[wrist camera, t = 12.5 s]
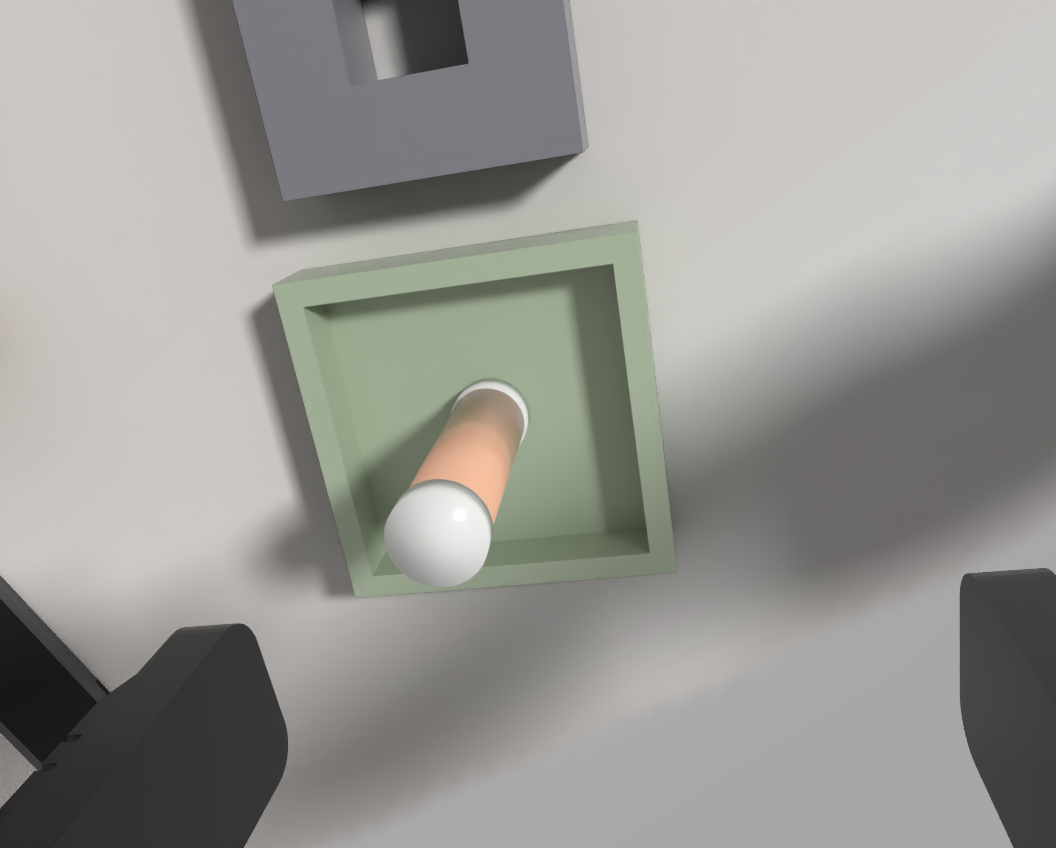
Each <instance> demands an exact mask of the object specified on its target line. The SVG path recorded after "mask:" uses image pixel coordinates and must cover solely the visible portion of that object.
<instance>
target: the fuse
mask: <svg viewBox="0 0 1056 848" xmlns="http://www.w3.org/2000/svg"><path fill="white" fill-rule="evenodd" d="M529 419H530V414H529V407H528V404H527V402H526V400H525V398H524V396H523V395H522V394H521V392H520V391H519V390H518V389H517V388H515V387H514V386H513V385H511V384H510V383H508V382H505V381H503V380H499V379H492V378H488V379H481V380H478V381H475V382H473V383H471V384H469V385H468V386H467V387H466V388H464V390H463V391H462V392H461V393H460V395H459V396H458V398H457V400H456V402H455V403H454V405H453V407H452V410H451V414H450V417H449V419H448V420H447V422H446V424H445V426H444V427H443V429H442V431H441V433H440V434H439V436H438V438H437V440H436V441H435V443H434V445H433V447H432V448H431V450H430V452H429V454H428V455H427V457H426V459H425V461H424V462H423V464H422V466H421V468H420V469H419V471H418V473H417V475H416V476H415V478H414V480H413V481H412V483H411V485H410V487H409V488H408V489H407V490H406V491H405V492H404V493H403V494H402V495H401V497H400V498H399V500H398V501H397V503H396V505H395V506H394V508H393V510H392V512H391V513H390V515H389V517H388V519H387V521H386V525H385V529H384V542H385V547H386V550H387V553H388V555H389V557H390V559H391V560H392V562H393V563H394V564H395V566H396V567H397V568H398V569H399V570H400V571H401V572H402V573H403V574H405V575H406V576H407V577H409V578H411V579H412V580H414V581H416V582H419V583H421V584H424V585H428V586H433V587H450V586H455V585H458V584H461V583H463V582H465V581H467V580H469V579H470V578H472V577H473V576H474V575H475V574H476V573H477V572H478V571H479V570H480V569H481V567H482V566H483V564H484V562H485V560H486V557H487V553H488V550H489V547H490V544H491V541H492V537H493V524H494V521H495V518H496V515H497V512H498V509H499V506H500V503H501V500H502V497H503V494H504V491H505V488H506V484H507V481H508V478H509V475H510V472H511V469H512V466H513V463H514V460H515V457H516V454H517V451H518V448H519V446H520V444H521V443H522V441H523V439H524V437H525V434H526V431H527V428H528V425H529Z"/></svg>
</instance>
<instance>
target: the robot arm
mask: <svg viewBox="0 0 1056 848" xmlns="http://www.w3.org/2000/svg"><path fill="white" fill-rule="evenodd" d="M960 705H961V713H962V720H963V725H964V730H965V735H966V738H967V742H968V746H969V749H970V752H971V755H972V757H973V760H974V762H975V765H976V767H977V769H978V771H979V774H980V776H981V778H982V780H983V782H984V784H985V787H986V789H987V791H988V793H989V795H990V797H991V800H992V802H993V804H994V806H995V808H996V810H997V813H998V815H999V817H1000V819H1001V821H1002V823H1003V825H1004V828H1005V830H1006V832H1007V834H1008V837H1009V839H1010V841H1011V843H1012V845H1013V847H1014V848H1056V575H1055V574H1054V573H1053V572H1052V571H1051V570H1049V569H1046V568H1039V569H1024V570H1010V571H996V572H982V573H968V574H965V575H964V576H963V578H962V581H961V586H960ZM287 753H288V736H287V729H286V725H285V721H284V718H283V715H282V713H281V710H280V707H279V704H278V701H277V698H276V695H275V692H274V689H273V686H272V683H271V680H270V677H269V675H268V672H267V669H266V666H265V663H264V660H263V657H262V654H261V651H260V648H259V645H258V642H257V640H256V637H255V635H254V634H253V632H252V631H251V629H250V628H249V627H247V626H246V625H244V624H223V625H209V626H195V627H184V628H180V629H179V630H177V631H175V632H174V633H173V634H172V635H171V636H170V637H169V639H168V640H167V641H166V642H165V643H164V644H163V645H162V646H161V648H160V649H159V650H158V651H157V652H156V653H155V654H154V655H153V657H152V658H151V659H150V660H149V661H148V662H147V663H146V664H145V666H144V667H143V668H142V669H141V670H140V671H139V672H138V673H137V674H136V675H135V676H133V677H132V678H130V679H129V680H128V681H126V682H125V683H123V684H122V685H121V686H119V687H118V688H116V689H115V690H114V691H112V692H111V693H109V694H108V695H107V696H105V697H104V698H102V699H101V700H100V701H98V702H97V703H96V705H95V706H94V707H93V708H92V709H91V710H90V711H89V712H88V713H87V714H86V715H85V717H84V718H83V719H82V720H81V721H80V722H79V723H78V724H77V725H76V726H75V728H74V729H73V730H72V731H71V732H70V733H69V734H68V740H67V742H61V743H60V744H59V745H58V746H57V747H56V748H55V749H54V750H53V752H52V753H51V754H50V755H49V756H48V757H47V758H46V759H45V760H44V761H43V763H42V769H41V771H34V772H33V773H32V775H31V776H30V777H29V778H28V779H27V780H26V781H25V782H24V783H23V784H22V785H21V787H20V788H19V789H18V790H17V791H16V792H15V793H14V794H13V795H12V796H11V798H10V799H9V800H8V801H7V802H6V803H5V804H4V805H3V806H2V807H1V808H0V848H244V846H245V844H246V842H247V841H248V839H249V837H250V835H251V833H252V831H253V830H254V828H255V826H256V824H257V822H258V821H259V819H260V817H261V815H262V813H263V811H264V810H265V808H266V806H267V804H268V802H269V801H270V799H271V797H272V795H273V793H274V791H275V790H276V788H277V786H278V784H279V782H280V780H281V778H282V775H283V773H284V769H285V765H286V760H287Z"/></svg>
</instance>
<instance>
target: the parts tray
mask: <svg viewBox="0 0 1056 848" xmlns="http://www.w3.org/2000/svg"><path fill="white" fill-rule="evenodd" d="M272 287H273V290H274V294H275V298H276V302H277V305H278V309H279V313H280V317H281V320H282V324H283V328H284V332H285V335H286V339H287V343H288V347H289V350H290V354H291V358H292V362H293V365H294V369H295V373H296V376H297V380H298V384H299V388H300V391H301V395H302V399H303V403H304V406H305V410H306V414H307V418H308V421H309V425H310V429H311V433H312V436H313V440H314V444H315V448H316V451H317V455H318V459H319V463H320V466H321V470H322V474H323V477H324V481H325V485H326V489H327V492H328V496H329V500H330V504H331V507H332V511H333V515H334V519H335V522H336V526H337V530H338V534H339V537H340V541H341V545H342V549H343V552H344V556H345V560H346V564H347V567H348V571H349V575H350V578H351V582H352V586H353V590H354V593H355V597H356V598H360V597H373V596H386V595H398V594H411V593H424V592H437V591H449V590H462V589H475V588H487V587H500V586H513V585H526V584H538V583H551V582H564V581H577V580H589V579H602V578H615V577H628V576H640V575H653V574H666V573H677V569H676V557H675V546H674V535H673V527H672V518H671V509H670V501H669V492H668V483H667V474H666V466H665V457H664V448H663V440H662V431H661V422H660V414H659V405H658V396H657V387H656V379H655V370H654V361H653V353H652V344H651V335H650V326H649V318H648V309H647V300H646V292H645V283H644V274H643V266H642V257H641V248H640V239H639V231H638V222H637V221H630V222H623V223H617V224H610V225H603V226H596V227H590V228H583V229H576V230H569V231H563V232H556V233H549V234H542V235H536V236H529V237H522V238H515V239H508V240H502V241H495V242H488V243H481V244H475V245H468V246H461V247H454V248H448V249H441V250H434V251H427V252H421V253H414V254H407V255H400V256H394V257H387V258H380V259H373V260H366V261H360V262H353V263H346V264H339V265H333V266H326V267H319V268H312V269H306V270H300V271H298V272H296V273H294V274H293V275H291V276H289V277H287V278H285V279H283V280H281V281H279V282H277V283H275V284H273V285H272ZM488 378H492V379H499V380H503V381H505V382H508V383H510V384H511V385H513V386H514V387H515V388H517V389H518V390H519V391H520V392H521V394H522V395H523V396H524V398H525V400H526V402H527V404H528V407H529V414H530V419H529V425H528V428H527V431H526V434H525V437H524V439H523V441H522V443H521V444H520V446H519V448H518V451H517V454H516V457H515V460H514V463H513V466H512V469H511V472H510V475H509V478H508V481H507V484H506V488H505V491H504V494H503V497H502V500H501V503H500V506H499V509H498V512H497V515H496V518H495V521H494V524H493V537H492V541H491V544H490V547H489V550H488V553H487V557H486V560H485V562H484V564H483V566H482V567H481V569H480V570H479V571H478V572H477V573H476V574H475V575H474V576H473V577H472V578H470V579H469V580H467V581H465V582H463V583H461V584H458V585H455V586H450V587H433V586H428V585H424V584H421V583H419V582H416V581H414V580H412V579H411V578H409V577H407V576H406V575H405V574H403V573H402V572H401V571H400V570H399V569H398V568H397V567H396V566H395V564H394V563H393V562H392V560H391V559H390V557H389V555H388V553H387V550H386V547H385V542H384V529H385V525H386V521H387V519H388V517H389V515H390V513H391V512H392V510H393V508H394V506H395V505H396V503H397V501H398V500H399V498H400V497H401V495H402V494H403V493H404V492H405V491H406V490H407V489H408V488H409V487H410V485H411V483H412V481H413V480H414V478H415V476H416V475H417V473H418V471H419V469H420V468H421V466H422V464H423V462H424V461H425V459H426V457H427V455H428V454H429V452H430V450H431V448H432V447H433V445H434V443H435V441H436V440H437V438H438V436H439V434H440V433H441V431H442V429H443V427H444V426H445V424H446V422H447V420H448V419H449V417H450V414H451V410H452V407H453V405H454V403H455V402H456V400H457V398H458V396H459V395H460V393H461V392H462V391H463V390H464V388H466V387H467V386H468V385H469V384H471V383H473V382H475V381H478V380H481V379H488Z"/></svg>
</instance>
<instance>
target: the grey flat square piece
mask: <svg viewBox="0 0 1056 848" xmlns="http://www.w3.org/2000/svg"><path fill="white" fill-rule="evenodd" d="M232 1H233V5H234V9H235V13H236V17H237V21H238V25H239V29H240V33H241V36H242V40H243V44H244V48H245V52H246V56H247V60H248V64H249V68H250V72H251V76H252V80H253V84H254V88H255V92H256V96H257V99H258V103H259V107H260V111H261V115H262V119H263V123H264V127H265V131H266V135H267V139H268V143H269V147H270V151H271V155H272V159H273V162H274V166H275V170H276V174H277V178H278V182H279V186H280V190H281V194H282V198H283V201H288V200H295V199H301V198H307V197H313V196H319V195H325V194H331V193H338V192H344V191H350V190H356V189H362V188H368V187H374V186H381V185H387V184H393V183H399V182H405V181H411V180H417V179H424V178H430V177H436V176H442V175H448V174H454V173H460V172H467V171H473V170H479V169H485V168H491V167H497V166H503V165H510V164H516V163H522V162H528V161H534V160H540V159H546V158H552V157H559V156H565V155H571V154H577V153H583V152H584V151H585V150H586V149H587V148H588V147H589V146H588V138H587V130H586V123H585V115H584V107H583V100H582V92H581V84H580V77H579V69H578V61H577V54H576V46H575V38H574V31H573V23H572V15H571V8H570V0H458V3H459V9H460V15H461V21H462V26H463V32H464V38H465V44H466V50H467V56H468V62H469V64H464V65H459V66H453V67H448V68H442V69H437V70H432V71H426V72H421V73H415V74H410V75H405V76H399V77H394V78H388V79H383V80H377V76H376V71H375V66H374V61H373V56H372V51H371V47H370V42H369V37H368V32H367V27H366V22H365V17H364V13H363V8H362V3H361V0H232Z"/></svg>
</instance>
